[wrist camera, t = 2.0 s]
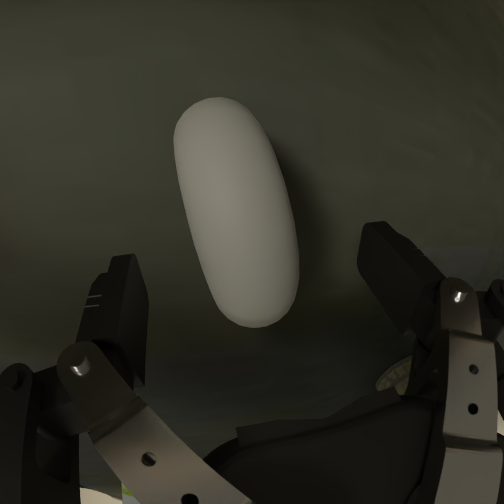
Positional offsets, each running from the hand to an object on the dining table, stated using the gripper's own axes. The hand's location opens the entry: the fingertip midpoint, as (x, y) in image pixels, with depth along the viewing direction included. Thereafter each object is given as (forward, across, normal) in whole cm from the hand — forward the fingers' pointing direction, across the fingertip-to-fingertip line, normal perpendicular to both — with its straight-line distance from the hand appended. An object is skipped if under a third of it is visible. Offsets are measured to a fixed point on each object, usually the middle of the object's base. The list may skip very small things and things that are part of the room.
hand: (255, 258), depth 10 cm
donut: (+9, 0, 0) cm, 9 cm away
